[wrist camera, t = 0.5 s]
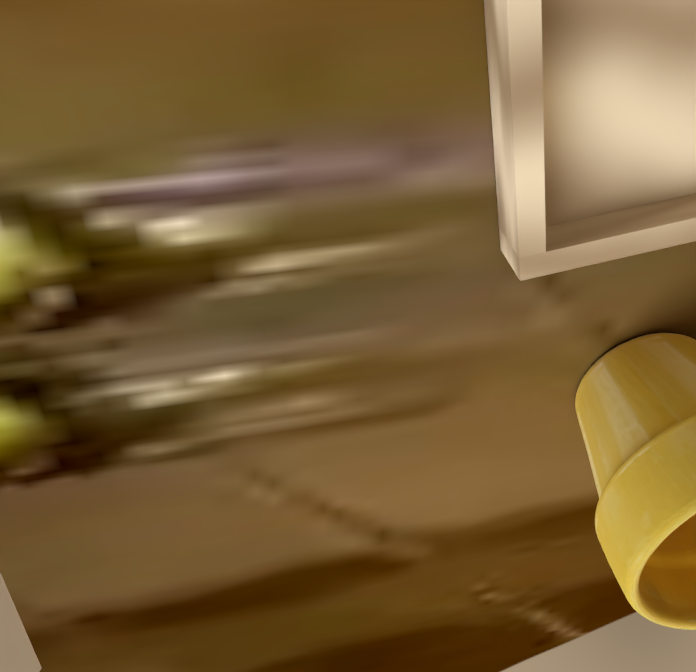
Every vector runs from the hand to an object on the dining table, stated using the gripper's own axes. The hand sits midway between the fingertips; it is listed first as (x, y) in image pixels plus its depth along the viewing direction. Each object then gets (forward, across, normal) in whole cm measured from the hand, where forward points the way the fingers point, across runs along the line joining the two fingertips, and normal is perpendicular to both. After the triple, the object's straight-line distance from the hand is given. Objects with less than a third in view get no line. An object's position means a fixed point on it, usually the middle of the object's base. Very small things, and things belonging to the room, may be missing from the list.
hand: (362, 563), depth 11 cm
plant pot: (+21, +12, -7) cm, 25 cm away
